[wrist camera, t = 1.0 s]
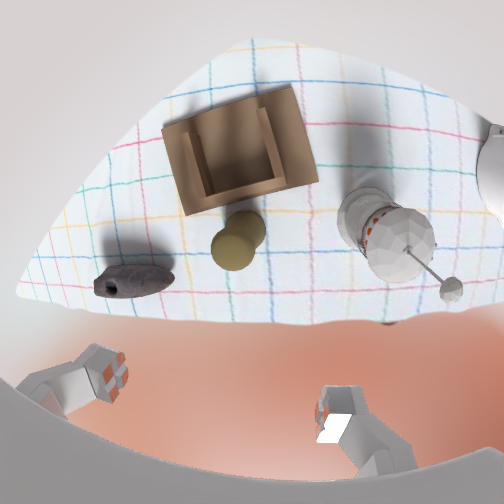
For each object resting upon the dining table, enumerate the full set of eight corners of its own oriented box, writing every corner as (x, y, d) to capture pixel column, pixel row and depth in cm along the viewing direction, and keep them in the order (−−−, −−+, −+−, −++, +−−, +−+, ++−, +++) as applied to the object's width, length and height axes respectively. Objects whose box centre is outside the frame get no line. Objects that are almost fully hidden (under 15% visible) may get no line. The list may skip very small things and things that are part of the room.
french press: (346, 178, 37) (426, 203, 13) (415, 201, 36) (529, 250, 12) (329, 243, 40) (372, 347, 16) (396, 261, 39) (480, 358, 16)
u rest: (291, 89, 34) (291, 77, 29) (318, 181, 38) (322, 184, 32) (163, 130, 38) (146, 126, 33) (188, 215, 42) (173, 222, 36)
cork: (218, 220, 41) (194, 240, 31) (255, 203, 40) (241, 217, 29) (236, 255, 43) (219, 285, 32) (272, 240, 41) (266, 267, 31)
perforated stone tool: (178, 258, 44) (159, 274, 38) (183, 288, 46) (166, 307, 39) (107, 260, 47) (85, 274, 40) (113, 286, 48) (93, 302, 42)
